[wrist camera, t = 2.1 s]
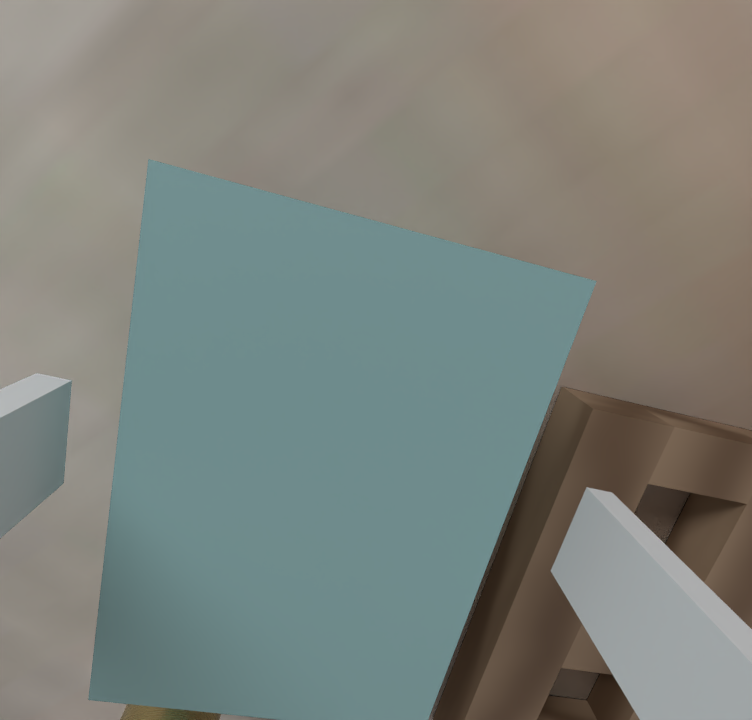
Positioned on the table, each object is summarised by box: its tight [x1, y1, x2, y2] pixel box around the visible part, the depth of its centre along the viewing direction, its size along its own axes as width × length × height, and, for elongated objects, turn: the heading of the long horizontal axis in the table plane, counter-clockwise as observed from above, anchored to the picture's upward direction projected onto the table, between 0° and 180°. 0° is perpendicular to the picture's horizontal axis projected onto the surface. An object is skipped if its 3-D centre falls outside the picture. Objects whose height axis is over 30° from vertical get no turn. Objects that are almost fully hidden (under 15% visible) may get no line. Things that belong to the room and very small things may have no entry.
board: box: [433, 387, 752, 720], centre depth 21 cm, size 12×20×2 cm, turn 166°
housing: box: [88, 159, 596, 720], centre depth 14 cm, size 9×13×9 cm
